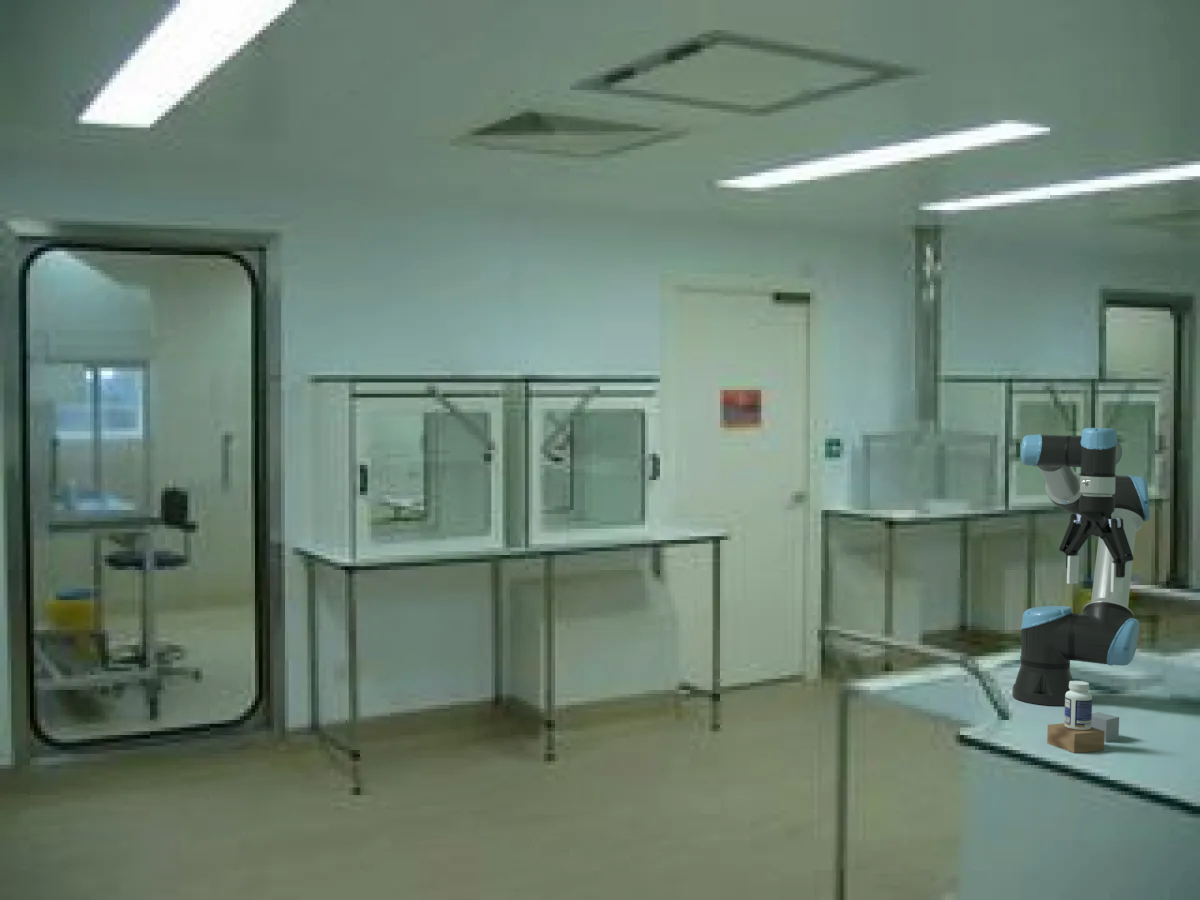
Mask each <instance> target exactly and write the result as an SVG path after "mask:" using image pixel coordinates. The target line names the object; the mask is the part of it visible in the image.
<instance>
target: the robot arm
mask: <svg viewBox="0 0 1200 900" xmlns="http://www.w3.org/2000/svg"><path fill="white" fill-rule="evenodd" d="M1117 434H1118V433H1117V430H1116V429H1115V428H1113V427H1112V428H1111V427H1109V428H1107V427H1085V428H1084V429H1082V431H1081V435H1063V434H1062V435H1060V434H1040V433H1038V434H1027V435H1025V436H1024V437H1023V438H1022V442H1021V449H1020V452H1021V454H1020V455H1021V462H1022V464H1023V465H1025V466H1032V467H1037V468H1038V470H1039V472H1040V475H1041V476H1042V478H1043V480H1044V482H1045V492H1046V495H1047V497H1048V498H1049V500H1050V501H1051V502H1052V503H1053V504H1054V505H1055V506H1057V507H1058V508H1059V509H1061V510H1062V511H1065V512H1066V513H1069V514H1070V519H1069V524H1068V526H1067V529H1066V531H1065V533H1064V536H1063V539H1062V541H1061V543H1060V546H1059V549H1058V550H1059V552H1062V553H1063V554H1064V555H1066V556H1065V557H1066V558H1065V568H1066V572H1067V573H1066V584H1067V585H1068V584H1069V585H1072V584H1073V585H1074V584H1079V578H1080V577H1079V575H1080V572H1079V571H1080V569H1079V567H1080V555H1079V551H1080V549H1081V548H1082V547H1083V546H1084V544H1085V542H1087V540H1088V539H1089V537H1091V536H1094V537H1098V541H1097V549H1096V558H1095V565H1094V574H1093V581H1092V589H1091V600H1090V602H1089V603H1086V605H1084V607H1083V609H1082V613H1075V612H1073V609H1072V607H1071V606H1067V605H1066V606H1065V605H1048V606H1047V605H1045V606H1044V605H1043V606H1037V607H1036V606H1034V607H1031V608H1030V607H1029V608H1027V609H1026V610H1025V611H1023V613H1022V622H1021V626H1020V629H1021V640H1020V641H1021V643H1020V644H1021V646H1020V666H1019V670H1018V673H1017V676H1016V679H1015V682H1014V684H1013V686H1012V694H1011V695H1012V697H1013V698H1014V699H1016V700H1018V701H1021V702H1025V703H1029V704H1035V705H1045V706H1065V694H1066V692H1068V691H1070V689H1069V682H1070V681H1074V680H1073V677H1072V674H1071V661H1075V662H1076V661H1077V662H1083V663H1091V664H1100V665H1108V666H1127V665H1130V664H1131V662H1132V661H1133V659H1134V657H1135V654H1136V651H1137V648H1138V647H1137V646H1138V642H1139V635H1140V621H1139V620H1138V619H1136V618H1135V617H1134V615H1135V614H1134V612H1133V611H1132V610H1131V609H1130V608H1129V601H1130V592H1131V591H1130V590H1131V580H1132V571H1133V562H1134V554H1135V553H1134V552H1135V542H1136V533H1137V532H1138V531H1140V530H1141V529H1142V528H1143V526H1144V522H1149V521H1150V520H1151V514H1150V513H1151V511H1150V498H1149V488H1148V487H1149V486H1148V481H1147V478H1145V477H1143V476H1138V475H1137V476H1136V475H1131V474H1127V475H1119V474H1118V475H1116V467H1117V464H1118V463H1120V461H1121V458H1122V457H1123V455H1122V454H1123V447H1122V446H1121V444H1120V442H1119V441H1118V437H1117V436H1118V435H1117ZM1074 468H1080V473H1078V472H1076V471H1075V469H1074Z"/></svg>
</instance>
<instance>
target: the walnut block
mask: <svg viewBox="0 0 1200 900" xmlns="http://www.w3.org/2000/svg"><path fill="white" fill-rule="evenodd" d="M1064 723H1065V722H1064ZM1064 723H1063V722H1062V723H1052V724H1047V738H1046V739H1047V741H1046V742H1047V743H1046V744H1048V743H1049V745H1051V746H1054V747H1056V746H1057V747H1056V748H1059V747H1060V748H1059V749H1062V748H1063V750H1064V749H1065V750H1064V751H1067V750H1068V751H1067V752H1069V753H1073V754H1077V753H1088V752H1096V751H1097V752H1098V751H1104V750H1105V742H1104V732H1105V731H1102V730H1099V729H1096V728H1093V727H1091V729H1089V730H1074V729H1070V728H1067V727H1065V724H1064Z"/></svg>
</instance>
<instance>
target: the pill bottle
mask: <svg viewBox="0 0 1200 900" xmlns="http://www.w3.org/2000/svg"><path fill="white" fill-rule="evenodd" d="M1069 689H1070V691H1068V692H1066V694H1065V705H1064V724H1065V727H1067V728H1070V729H1074V730H1089V729H1091V719H1092V713H1093V712H1092V711H1093V695H1092V694H1091V693H1090V692H1089V690H1090V683H1089V682H1086V681H1082V680H1073V681H1070V682H1069Z"/></svg>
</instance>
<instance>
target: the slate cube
mask: <svg viewBox="0 0 1200 900" xmlns="http://www.w3.org/2000/svg"><path fill="white" fill-rule="evenodd" d="M1091 727H1093V728H1096V729H1099V730H1102V731H1105V732H1104V743H1109V742H1112V741H1117V740H1119V737H1120V736H1119V735H1120V732H1119V731H1120V729H1119V728H1120V716H1118V715H1111V714H1107V713H1104V712H1099V711H1098V712H1094V713H1093V712H1092V719H1091Z"/></svg>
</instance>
